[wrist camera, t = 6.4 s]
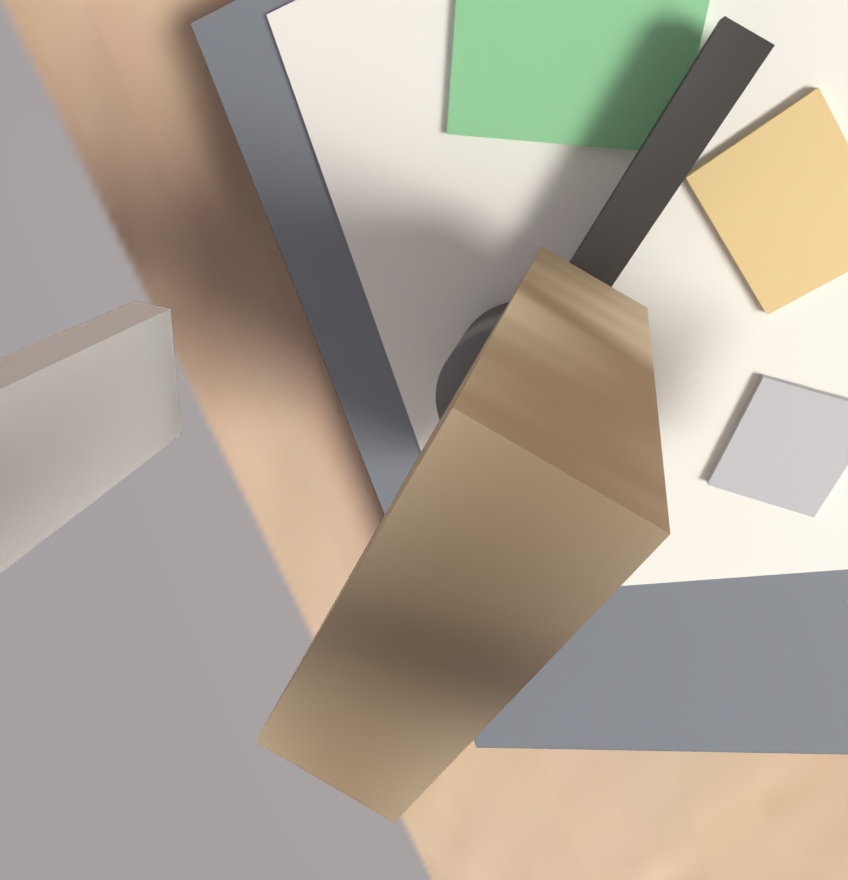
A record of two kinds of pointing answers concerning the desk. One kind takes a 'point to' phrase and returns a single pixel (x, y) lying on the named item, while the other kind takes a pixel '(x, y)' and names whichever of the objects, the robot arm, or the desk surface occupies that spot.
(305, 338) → the desk surface
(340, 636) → the wooden block with bar
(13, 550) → the robot arm
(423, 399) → the board
